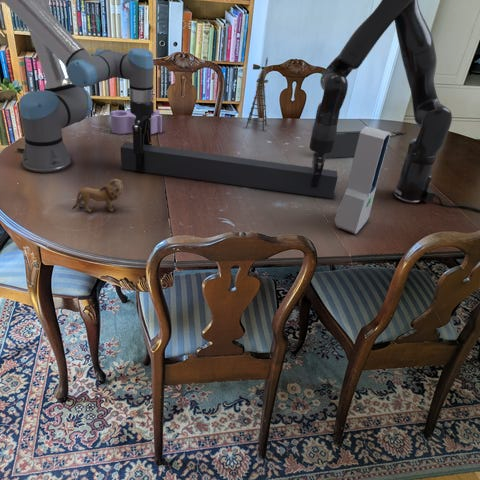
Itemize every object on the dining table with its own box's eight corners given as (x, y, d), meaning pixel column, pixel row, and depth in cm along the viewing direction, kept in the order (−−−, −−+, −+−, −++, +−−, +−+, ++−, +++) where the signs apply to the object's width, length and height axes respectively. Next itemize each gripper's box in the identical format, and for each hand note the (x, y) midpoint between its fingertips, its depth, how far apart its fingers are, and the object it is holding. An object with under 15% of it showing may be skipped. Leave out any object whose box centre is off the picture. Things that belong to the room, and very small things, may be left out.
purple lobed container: (113, 135, 186) (112, 118, 182) (110, 125, 196) (109, 108, 192) (163, 134, 192) (163, 118, 189) (157, 124, 202) (157, 108, 198)
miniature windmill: (263, 130, 207) (272, 60, 191) (245, 127, 208) (252, 57, 192) (266, 124, 215) (275, 56, 199) (248, 121, 216) (256, 53, 200)
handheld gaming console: (367, 153, 195) (373, 130, 190) (371, 156, 193) (377, 132, 188) (318, 155, 188) (323, 131, 183) (321, 158, 186) (326, 134, 181)
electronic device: (355, 236, 138) (381, 139, 122) (331, 227, 141) (354, 131, 125) (368, 219, 147) (394, 127, 131) (346, 211, 150) (369, 121, 134)
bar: (121, 168, 161) (120, 147, 157) (126, 163, 165) (125, 141, 161) (332, 198, 157) (337, 177, 153) (332, 192, 161) (337, 170, 157)
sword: (401, 131, 224) (402, 128, 223) (406, 133, 222) (407, 131, 221) (358, 142, 208) (358, 140, 207) (363, 145, 206) (363, 142, 205)
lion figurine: (122, 202, 142) (121, 175, 137) (125, 210, 138) (124, 183, 133) (71, 206, 137) (68, 178, 132) (73, 215, 133) (69, 187, 128)
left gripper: (144, 110, 142) (145, 179, 155) (160, 94, 157) (160, 158, 170) (120, 107, 142) (123, 176, 155) (139, 91, 158) (140, 156, 170)
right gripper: (336, 145, 142) (325, 194, 151) (334, 129, 154) (324, 176, 163) (311, 142, 143) (302, 191, 152) (311, 126, 155) (303, 173, 164)
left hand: (142, 167), depth 162 cm, fingers closed on bar, 5 cm apart
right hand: (313, 183), depth 158 cm, fingers closed on bar, 5 cm apart
